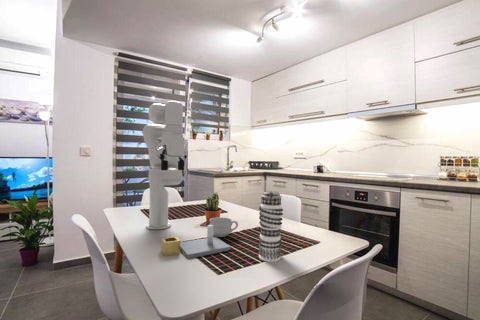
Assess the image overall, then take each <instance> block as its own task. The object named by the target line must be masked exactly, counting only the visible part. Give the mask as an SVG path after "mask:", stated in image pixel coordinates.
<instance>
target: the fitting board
mask: <svg viewBox="0 0 480 320" xmlns="http://www.w3.org/2000/svg"><path fill="white" fill-rule="evenodd" d="M206 228H207V233H206V234H207V235H206V238H200V239H199V238H198V239H194V240H193V239H192V240H186V241H180V253H182V254H183V256H184V257H186V259H193V258H198V257H203V256H209V255H214V254H218V252H219V253H223V251H224V252H229V251H231V245H229V244H227V243H226V242H225V241H223V240H222V239H220V238H219V237H216V236H214V235H213V225H210V224H207V227H206ZM228 250H229V251H228Z"/></svg>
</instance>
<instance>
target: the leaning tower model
mask: <svg viewBox="0 0 480 320" xmlns="http://www.w3.org/2000/svg"><path fill="white" fill-rule="evenodd" d="M260 196H261V203H260V206H259V207H258V210H259V212H258V214H259V217H258V218H259V220H260V221H259V228H260V233H259V238H258V239H259V240H258V241H259V242H258V245H259V246H258V258H259V259H260V260H262V261H265V262H270V263H272V262H273V263H274V261H275V262H279V261H280V260H281V257H282V239H281V229H282V224H283V222H282V221H283V217H281V216H283V215H284V214H283V211H284V209H283V208H282V197H283V196H282V195H280V193H279V192H278V191H274V190H273V191H272V190H271V191H269V190H267V191H264V192H263V193H262V194H260ZM278 260H279V261H278Z"/></svg>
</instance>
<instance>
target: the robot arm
mask: <svg viewBox="0 0 480 320" xmlns="http://www.w3.org/2000/svg"><path fill="white" fill-rule="evenodd" d="M183 113H184V105H183V104H182V102H180V101H177V100H170V101H169V100H168V101H167V102H165V103H164V104H162V103H152V104H151V105H150V106H149V108H148V112H147V115H148V120H149V121H151V122H152V124H151V123H149V124H146V125H145V126H144V127H143V129H142V134H143V135H142V136H143V140H144V143H145V146H146V147H147V150H148V157H149V158H148V159H149V164H150V167H151V168H150V170H149V171H148V184H149V211H148V213H149V216H148V223H146V224H145V228H146V229H147V230H154V231H155V230H163V229H168V228H170V227H171V225H172V224H171V222H169V192H168V190H167V188H165V187H164V186H177V185H180V184H181V183H182V182H183V171H184V170H185V161H186V159H187V156H188V154H189V151H188V150H186V149H185V139H184V133H183V132H184V128H183V127H184V126H183V125H184V124H183V122H184V117H183V115H184V114H183ZM158 140H161V142H160V141H158Z"/></svg>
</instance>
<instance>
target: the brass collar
mask: <svg viewBox="0 0 480 320" xmlns="http://www.w3.org/2000/svg"><path fill="white" fill-rule="evenodd" d="M160 240H161V242H160V252H161V253H162V254H163V256H164V257H168V256H173V255H178V254H180V253H181V251H180V242H181V240H180V239H179V238H178V237H177V236H169V237H163V238H161V239H160Z"/></svg>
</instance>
